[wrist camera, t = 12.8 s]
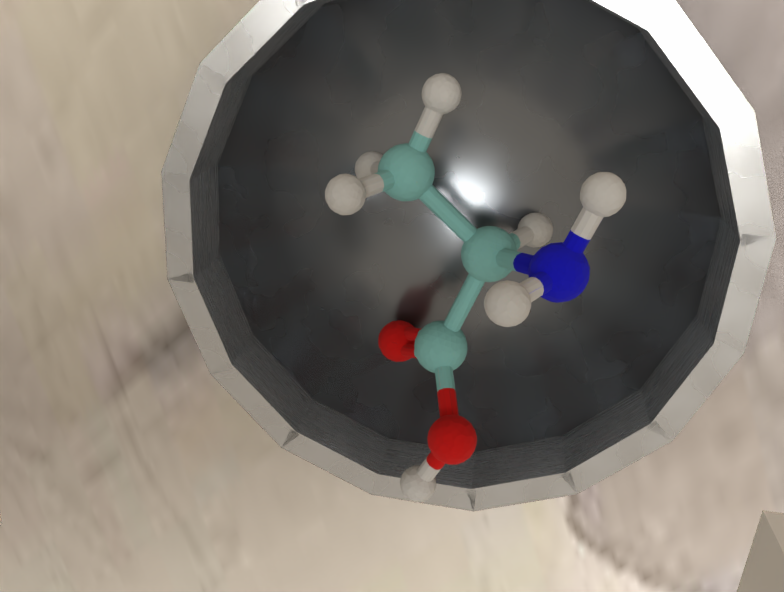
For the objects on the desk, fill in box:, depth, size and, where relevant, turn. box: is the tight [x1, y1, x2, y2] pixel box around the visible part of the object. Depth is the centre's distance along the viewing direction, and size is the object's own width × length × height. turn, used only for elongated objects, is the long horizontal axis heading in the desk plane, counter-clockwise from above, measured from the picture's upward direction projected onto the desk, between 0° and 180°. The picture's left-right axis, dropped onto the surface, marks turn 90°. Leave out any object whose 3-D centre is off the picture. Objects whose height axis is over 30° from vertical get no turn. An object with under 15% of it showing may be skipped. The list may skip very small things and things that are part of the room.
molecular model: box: [325, 73, 626, 502], centre depth 24 cm, size 12×10×10 cm
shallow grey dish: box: [161, 0, 776, 511], centre depth 26 cm, size 20×20×4 cm
